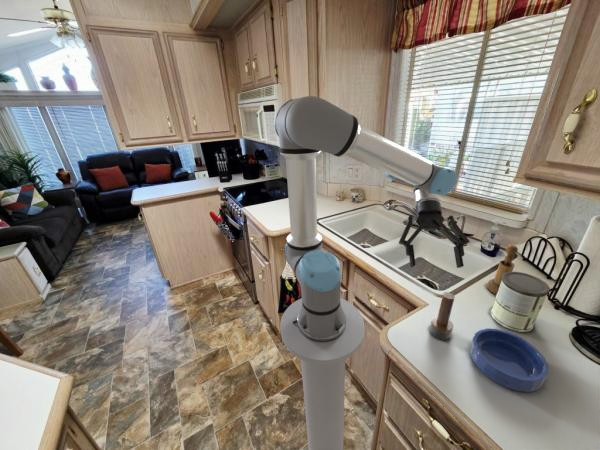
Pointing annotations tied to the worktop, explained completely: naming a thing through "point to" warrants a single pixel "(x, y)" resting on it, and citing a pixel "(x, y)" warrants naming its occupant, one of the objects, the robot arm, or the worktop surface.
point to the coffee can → (519, 301)
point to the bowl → (508, 360)
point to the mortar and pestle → (503, 269)
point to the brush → (443, 318)
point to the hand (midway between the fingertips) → (436, 266)
